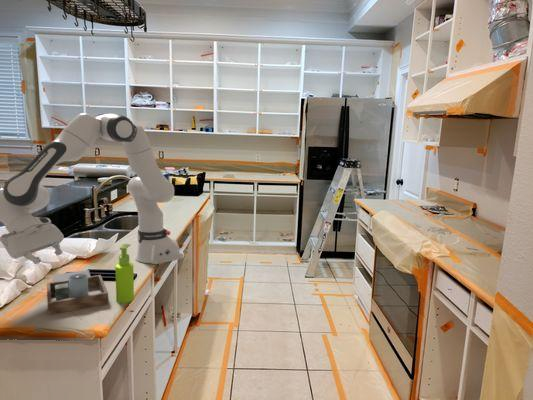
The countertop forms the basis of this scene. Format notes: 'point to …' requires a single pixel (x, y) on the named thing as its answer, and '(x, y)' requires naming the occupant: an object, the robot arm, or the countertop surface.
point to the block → (62, 291)
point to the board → (67, 275)
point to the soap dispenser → (124, 277)
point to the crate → (77, 301)
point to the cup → (78, 285)
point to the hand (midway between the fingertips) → (49, 258)
